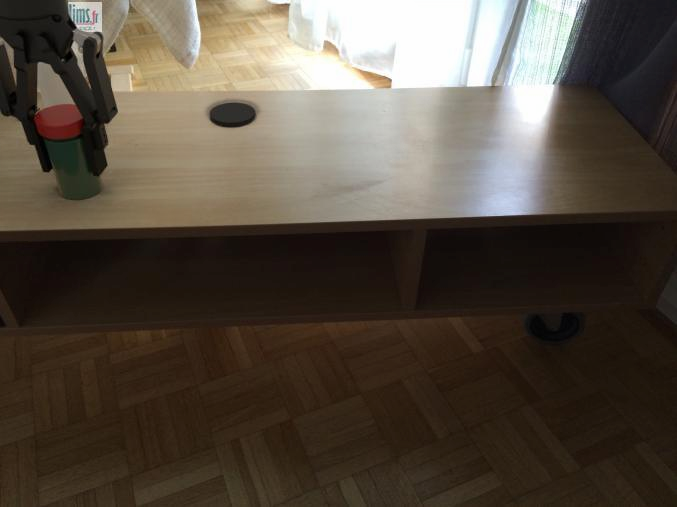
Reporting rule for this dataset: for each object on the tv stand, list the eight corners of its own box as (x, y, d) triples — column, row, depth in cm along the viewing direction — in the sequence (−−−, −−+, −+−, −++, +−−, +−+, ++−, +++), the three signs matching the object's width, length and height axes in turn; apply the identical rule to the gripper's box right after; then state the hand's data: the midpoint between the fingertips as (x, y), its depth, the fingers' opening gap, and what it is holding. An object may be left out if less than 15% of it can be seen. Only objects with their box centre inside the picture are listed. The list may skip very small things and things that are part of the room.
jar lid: (27, 135, 71) (23, 123, 70) (54, 114, 76) (50, 101, 74) (74, 141, 70) (70, 128, 69) (98, 119, 75) (95, 106, 74)
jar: (52, 198, 77) (30, 130, 71) (71, 176, 81) (52, 110, 75) (92, 201, 76) (73, 133, 70) (109, 179, 80) (93, 113, 74)
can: (103, 116, 94) (85, 38, 87) (76, 134, 89) (54, 54, 82) (68, 109, 96) (48, 32, 88) (40, 126, 91) (15, 46, 83)
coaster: (204, 125, 93) (204, 120, 92) (216, 105, 98) (216, 100, 98) (249, 128, 92) (249, 124, 92) (259, 108, 98) (259, 103, 97)
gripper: (-92, -25, 60) (-13, 178, 74) (94, -14, 58) (138, 190, 73) (-46, -43, 65) (19, 148, 80) (124, -34, 64) (158, 159, 79)
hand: (75, 168), depth 76 cm, fingers closed on jar lid, 6 cm apart
